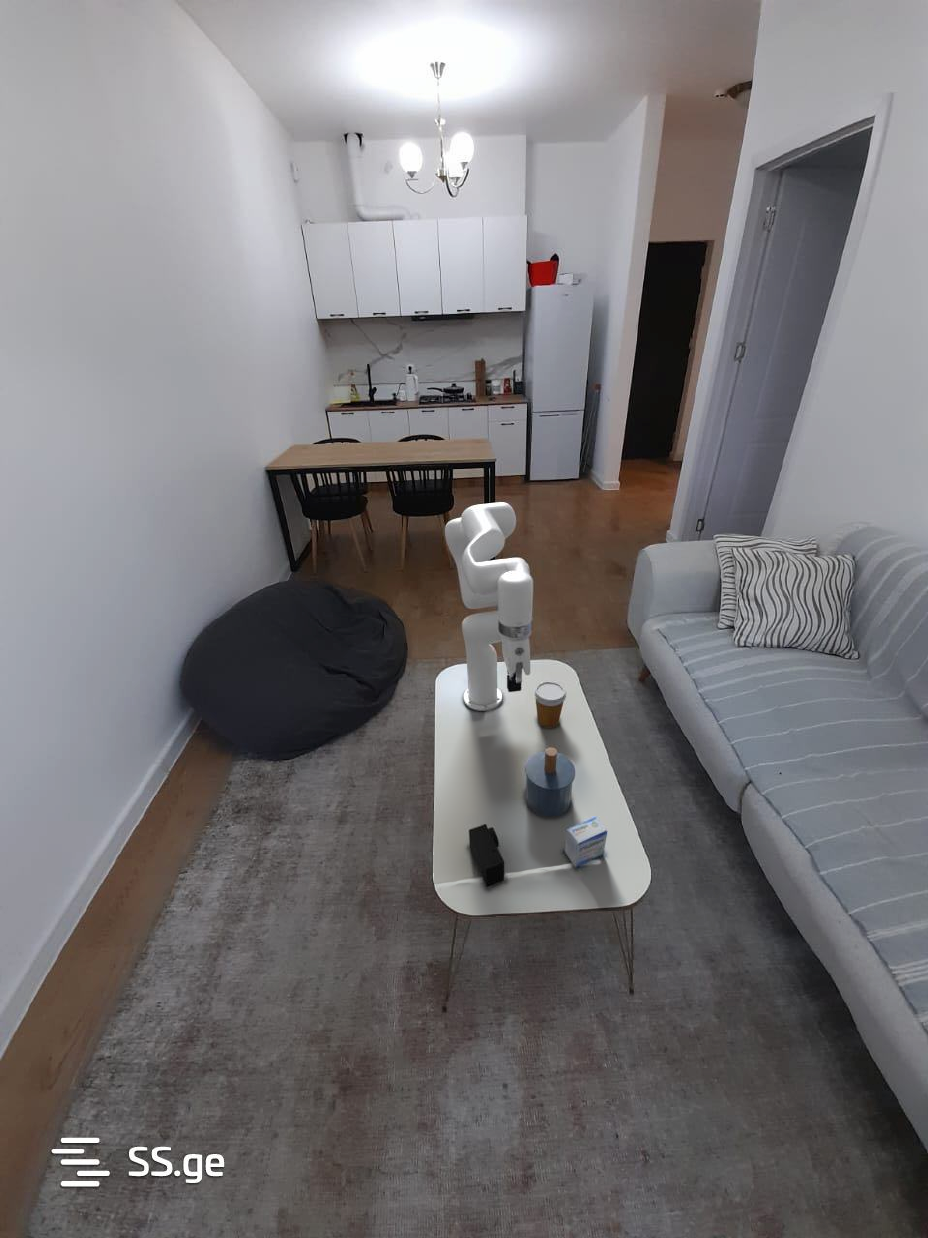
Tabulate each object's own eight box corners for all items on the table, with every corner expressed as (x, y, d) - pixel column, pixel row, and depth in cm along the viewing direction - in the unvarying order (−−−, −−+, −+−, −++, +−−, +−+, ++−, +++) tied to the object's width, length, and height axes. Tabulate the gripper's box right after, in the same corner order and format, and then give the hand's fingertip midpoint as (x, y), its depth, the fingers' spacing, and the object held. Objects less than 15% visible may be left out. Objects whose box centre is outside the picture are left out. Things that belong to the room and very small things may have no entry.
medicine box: (575, 868, 111) (578, 844, 107) (564, 852, 115) (566, 828, 110) (604, 854, 114) (608, 831, 109) (592, 839, 117) (596, 815, 113)
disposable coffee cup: (563, 733, 147) (566, 702, 141) (531, 730, 149) (532, 699, 143) (564, 712, 155) (567, 681, 149) (533, 709, 157) (535, 679, 151)
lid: (519, 757, 127) (520, 736, 123) (566, 751, 128) (568, 730, 124) (531, 795, 117) (532, 774, 113) (581, 788, 118) (584, 767, 114)
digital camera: (509, 879, 110) (509, 860, 106) (486, 888, 108) (486, 869, 104) (491, 840, 118) (490, 821, 114) (469, 848, 116) (468, 829, 113)
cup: (521, 784, 132) (522, 756, 126) (562, 779, 133) (565, 751, 127) (531, 820, 122) (533, 792, 117) (576, 814, 123) (579, 785, 118)
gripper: (540, 641, 105) (537, 708, 114) (523, 607, 118) (522, 669, 127) (505, 645, 104) (505, 711, 114) (492, 610, 117) (493, 672, 126)
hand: (514, 689), depth 120 cm, fingers closed
